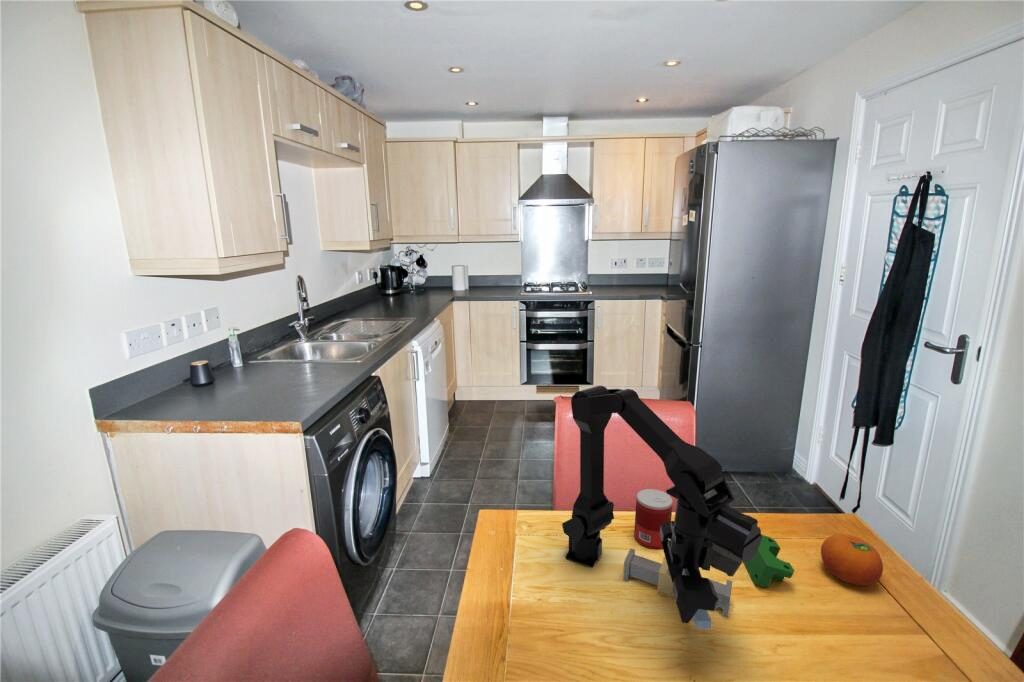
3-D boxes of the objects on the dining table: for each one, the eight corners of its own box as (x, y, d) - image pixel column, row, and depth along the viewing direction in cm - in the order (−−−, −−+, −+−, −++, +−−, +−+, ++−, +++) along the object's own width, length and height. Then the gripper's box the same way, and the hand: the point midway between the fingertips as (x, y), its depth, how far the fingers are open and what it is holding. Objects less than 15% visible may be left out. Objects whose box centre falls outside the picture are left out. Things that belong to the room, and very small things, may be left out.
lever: (692, 630, 79) (693, 620, 79) (665, 561, 95) (666, 553, 95) (714, 631, 79) (715, 621, 79) (683, 562, 95) (684, 553, 95)
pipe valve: (622, 580, 98) (624, 560, 96) (629, 566, 102) (630, 546, 101) (727, 618, 88) (730, 596, 87) (730, 600, 92) (732, 579, 91)
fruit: (806, 564, 102) (811, 532, 100) (841, 554, 105) (847, 522, 103) (854, 600, 92) (861, 565, 90) (891, 587, 95) (899, 553, 93)
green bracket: (775, 602, 97) (798, 583, 92) (746, 593, 98) (768, 573, 92) (763, 548, 107) (784, 528, 101) (737, 541, 107) (756, 520, 102)
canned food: (673, 550, 107) (677, 507, 104) (638, 549, 107) (641, 507, 104) (663, 529, 114) (666, 488, 112) (630, 528, 114) (633, 488, 112)
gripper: (760, 571, 70) (743, 654, 74) (725, 501, 88) (713, 571, 92) (683, 561, 72) (671, 643, 76) (664, 494, 90) (655, 563, 94)
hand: (679, 601), depth 84 cm, fingers open, 9 cm apart
